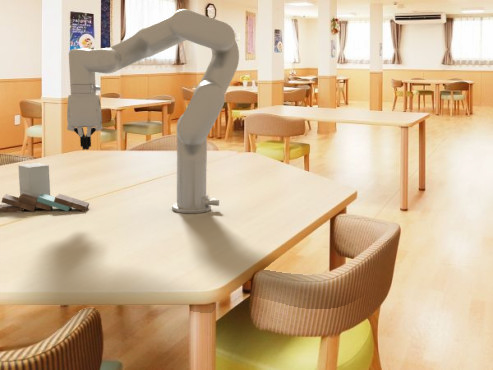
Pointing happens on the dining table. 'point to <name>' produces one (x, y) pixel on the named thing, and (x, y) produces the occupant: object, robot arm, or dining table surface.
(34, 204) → the domino
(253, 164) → the dining table surface
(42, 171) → the supplement box
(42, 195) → the domino
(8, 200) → the domino
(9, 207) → the domino
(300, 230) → the dining table surface
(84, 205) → the domino
